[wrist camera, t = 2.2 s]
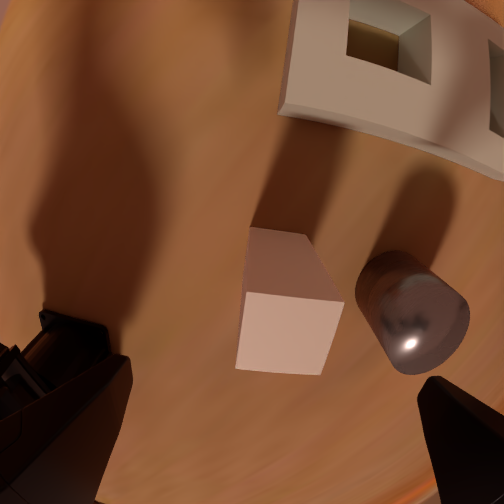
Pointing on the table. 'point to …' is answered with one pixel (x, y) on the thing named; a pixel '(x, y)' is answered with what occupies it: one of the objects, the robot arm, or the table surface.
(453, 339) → the round dowel
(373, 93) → the socket block
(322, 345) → the square peg
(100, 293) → the table surface
